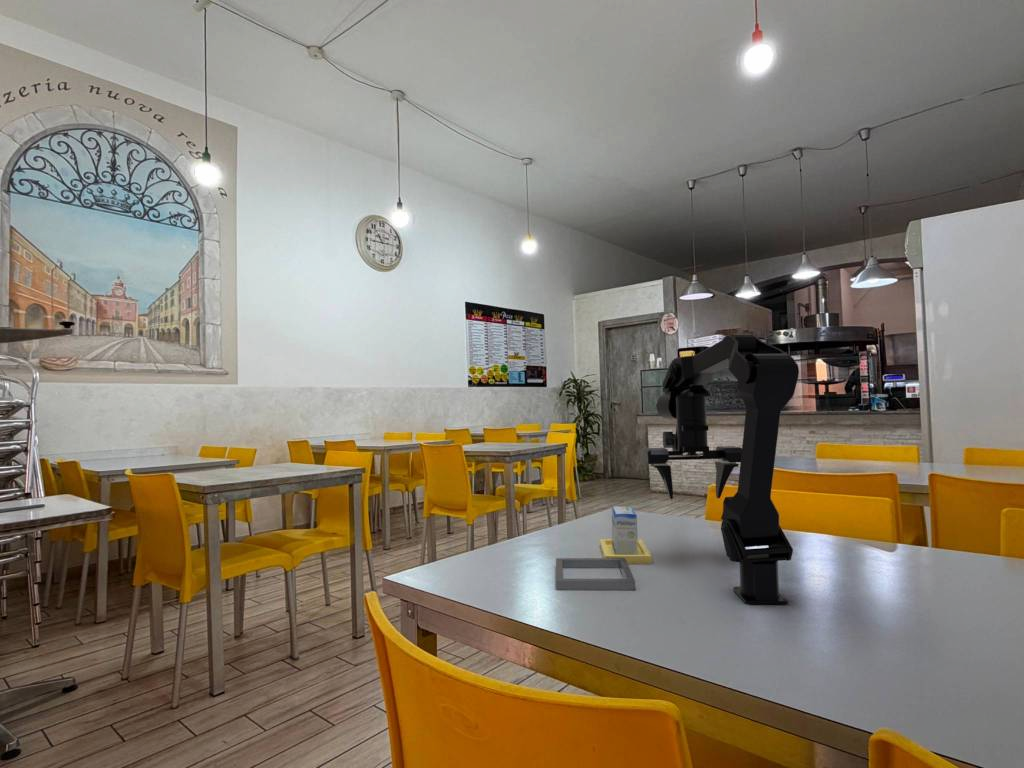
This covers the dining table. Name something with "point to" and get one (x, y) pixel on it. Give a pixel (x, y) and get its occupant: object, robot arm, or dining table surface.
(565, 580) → the socket frame
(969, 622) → the dining table surface
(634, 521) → the medicine box
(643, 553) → the tray
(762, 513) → the robot arm
